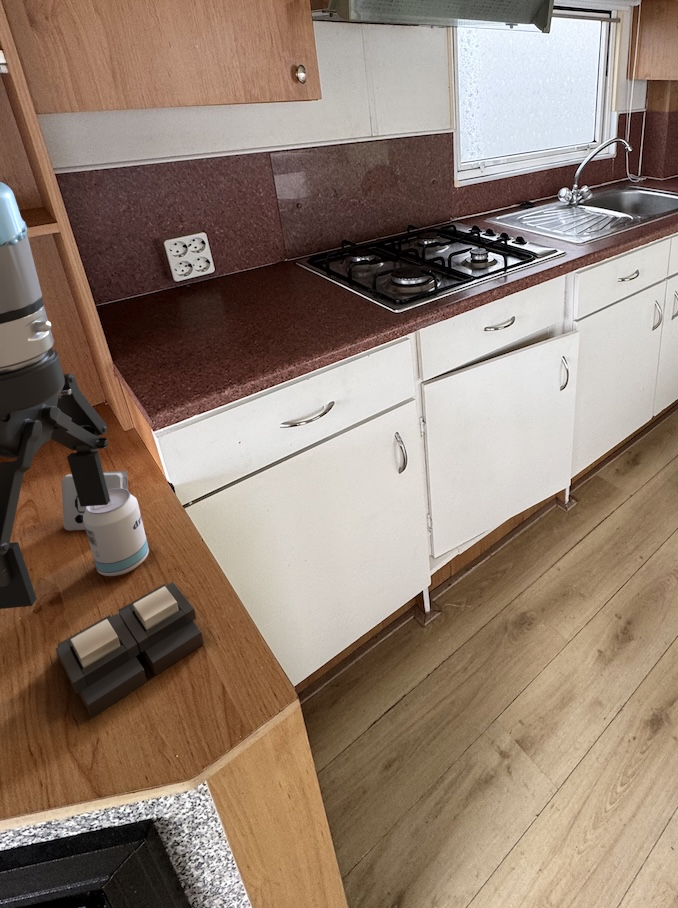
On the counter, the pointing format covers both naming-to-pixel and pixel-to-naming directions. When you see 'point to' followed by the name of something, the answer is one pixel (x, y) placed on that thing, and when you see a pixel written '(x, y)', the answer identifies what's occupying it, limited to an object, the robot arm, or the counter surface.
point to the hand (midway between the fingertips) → (61, 548)
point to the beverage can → (116, 534)
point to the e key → (155, 607)
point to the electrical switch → (71, 502)
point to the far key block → (165, 632)
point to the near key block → (104, 670)
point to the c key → (95, 643)
